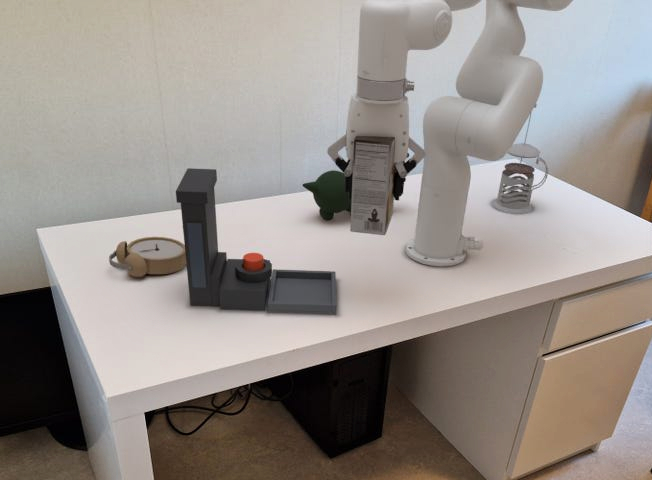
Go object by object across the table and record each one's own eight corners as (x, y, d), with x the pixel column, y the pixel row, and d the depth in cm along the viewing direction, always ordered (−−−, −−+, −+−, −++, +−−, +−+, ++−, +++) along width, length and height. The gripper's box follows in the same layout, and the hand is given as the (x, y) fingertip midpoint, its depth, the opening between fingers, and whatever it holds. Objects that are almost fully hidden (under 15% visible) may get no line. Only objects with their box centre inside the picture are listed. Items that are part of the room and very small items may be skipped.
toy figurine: (385, 209, 164) (291, 212, 154) (399, 131, 154) (299, 129, 144) (404, 224, 157) (306, 228, 147) (419, 143, 147) (315, 142, 137)
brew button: (264, 263, 121) (264, 252, 120) (262, 272, 118) (262, 261, 117) (244, 262, 121) (244, 252, 120) (242, 271, 118) (242, 261, 117)
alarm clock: (197, 254, 129) (121, 259, 120) (195, 277, 131) (120, 283, 122) (173, 233, 136) (100, 236, 127) (171, 256, 139) (99, 260, 130)
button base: (274, 279, 128) (273, 251, 125) (269, 311, 118) (269, 281, 115) (228, 278, 128) (227, 249, 124) (220, 309, 118) (218, 280, 114)
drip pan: (335, 280, 129) (335, 271, 128) (335, 315, 118) (336, 305, 117) (272, 278, 128) (272, 269, 127) (267, 313, 118) (267, 303, 117)
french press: (490, 197, 170) (509, 94, 155) (536, 201, 169) (560, 98, 154) (493, 211, 162) (513, 105, 147) (541, 216, 161) (566, 109, 146)
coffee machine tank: (228, 279, 127) (222, 169, 115) (220, 308, 118) (213, 192, 106) (197, 278, 127) (187, 168, 115) (187, 307, 118) (175, 190, 106)
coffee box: (358, 211, 121) (363, 121, 112) (393, 215, 120) (400, 125, 111) (349, 232, 114) (353, 138, 104) (386, 236, 113) (393, 141, 103)
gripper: (432, 84, 107) (421, 190, 117) (325, 81, 106) (322, 187, 117) (439, 96, 101) (426, 206, 111) (324, 93, 100) (322, 204, 111)
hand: (373, 196), depth 114 cm, fingers closed on coffee box, 7 cm apart
